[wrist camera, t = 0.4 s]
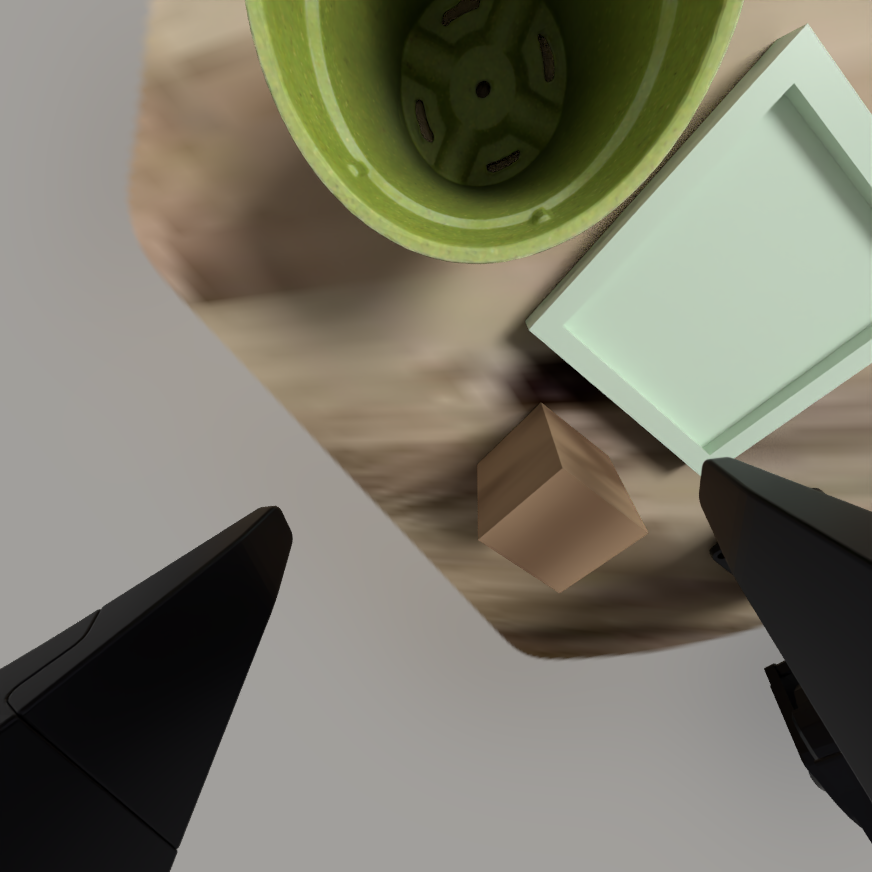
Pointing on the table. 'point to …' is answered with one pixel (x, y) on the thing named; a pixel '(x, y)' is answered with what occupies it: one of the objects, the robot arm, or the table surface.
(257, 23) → the plant pot
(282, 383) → the table surface
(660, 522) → the table surface
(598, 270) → the green tray
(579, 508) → the walnut block
